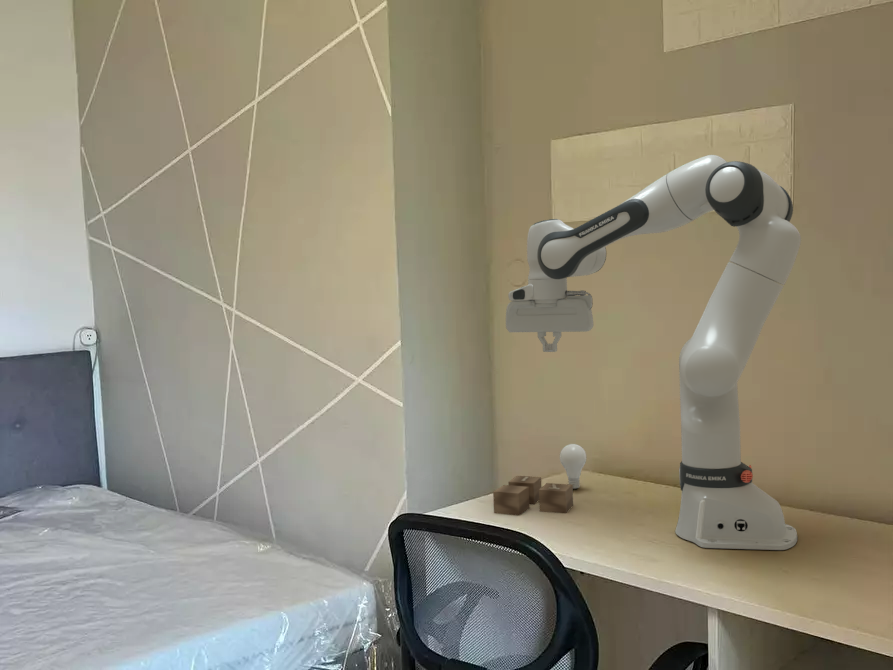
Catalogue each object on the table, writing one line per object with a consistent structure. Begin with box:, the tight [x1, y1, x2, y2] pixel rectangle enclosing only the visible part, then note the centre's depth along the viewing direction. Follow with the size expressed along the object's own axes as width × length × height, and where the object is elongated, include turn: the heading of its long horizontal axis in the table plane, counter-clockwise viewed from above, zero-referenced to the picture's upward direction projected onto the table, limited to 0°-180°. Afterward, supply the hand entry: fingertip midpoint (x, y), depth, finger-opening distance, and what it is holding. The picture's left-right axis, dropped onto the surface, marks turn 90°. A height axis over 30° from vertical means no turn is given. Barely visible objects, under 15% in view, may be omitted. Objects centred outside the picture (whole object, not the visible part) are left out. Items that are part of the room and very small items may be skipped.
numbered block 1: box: [507, 475, 543, 505], centre depth 205 cm, size 6×6×5 cm
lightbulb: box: [559, 443, 587, 490], centre depth 212 cm, size 6×6×11 cm
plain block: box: [492, 484, 531, 516], centre depth 197 cm, size 6×6×5 cm
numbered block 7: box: [538, 482, 574, 514], centre depth 196 cm, size 6×6×5 cm
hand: (550, 351), depth 203 cm, fingers closed
